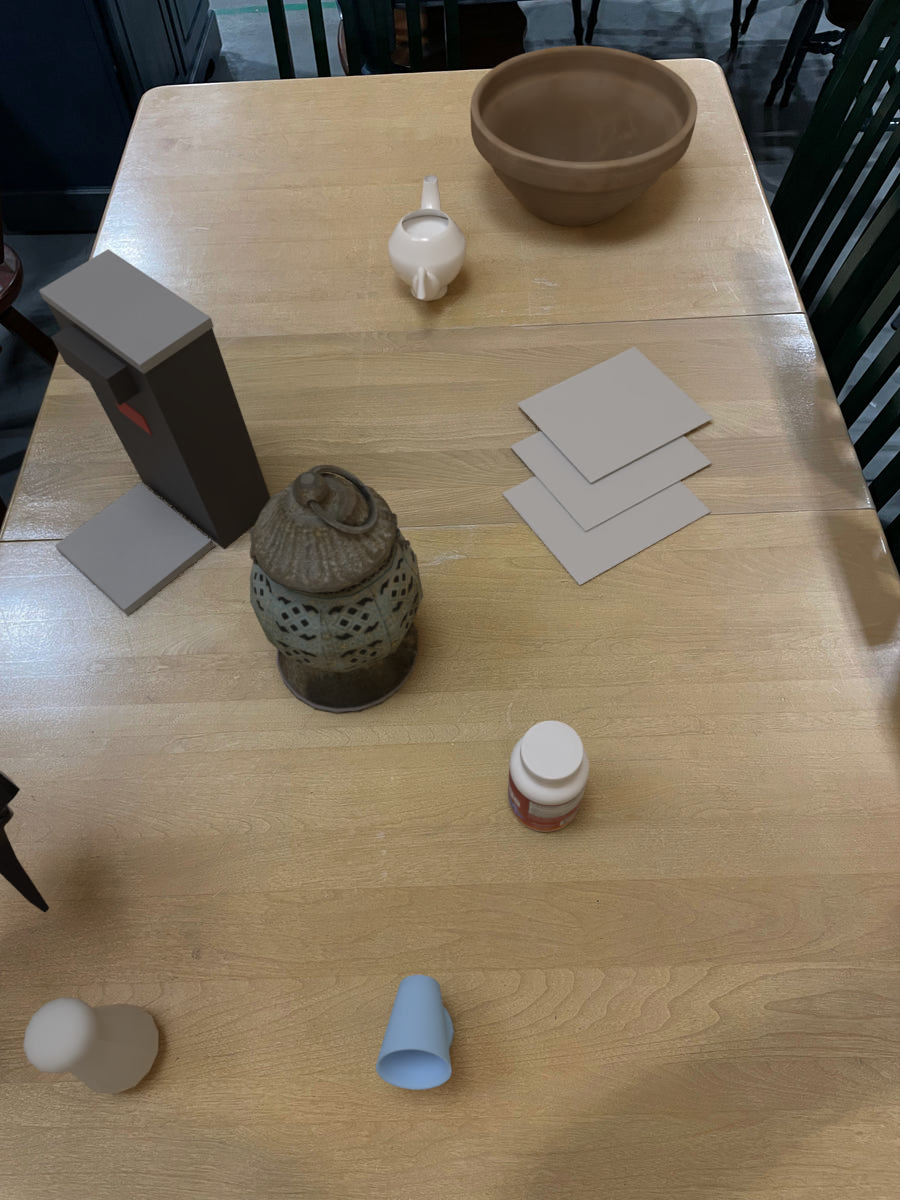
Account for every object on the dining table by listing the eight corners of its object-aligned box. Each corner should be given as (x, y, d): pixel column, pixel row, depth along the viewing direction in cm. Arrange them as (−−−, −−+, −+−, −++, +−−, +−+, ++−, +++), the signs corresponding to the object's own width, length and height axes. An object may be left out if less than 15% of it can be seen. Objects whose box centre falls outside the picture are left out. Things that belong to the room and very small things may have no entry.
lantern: (319, 569, 86) (264, 384, 65) (449, 612, 82) (436, 433, 61) (251, 685, 79) (164, 522, 58) (389, 738, 76) (351, 585, 55)
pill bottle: (509, 760, 74) (512, 707, 65) (580, 766, 74) (594, 712, 64) (505, 831, 71) (507, 785, 61) (579, 837, 70) (593, 791, 61)
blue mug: (455, 1093, 61) (457, 988, 65) (450, 1087, 52) (452, 967, 56) (386, 1091, 61) (392, 987, 65) (370, 1085, 53) (378, 965, 56)
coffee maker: (134, 622, 83) (14, 448, 62) (53, 546, 89) (-84, 362, 67) (276, 508, 90) (210, 317, 69) (192, 444, 96) (107, 248, 74)
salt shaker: (184, 1035, 64) (120, 1015, 53) (132, 1112, 61) (54, 1107, 50) (126, 992, 65) (52, 964, 54) (73, 1065, 63) (-15, 1051, 52)
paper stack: (771, 477, 90) (773, 473, 89) (579, 585, 83) (580, 581, 83) (633, 351, 101) (634, 346, 100) (454, 438, 94) (454, 433, 94)
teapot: (385, 342, 103) (376, 276, 95) (399, 240, 114) (392, 174, 106) (463, 342, 103) (461, 277, 95) (470, 240, 113) (469, 173, 105)
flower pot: (679, 143, 123) (698, 45, 112) (677, 268, 109) (699, 169, 97) (485, 135, 127) (485, 39, 115) (458, 255, 112) (455, 158, 101)
